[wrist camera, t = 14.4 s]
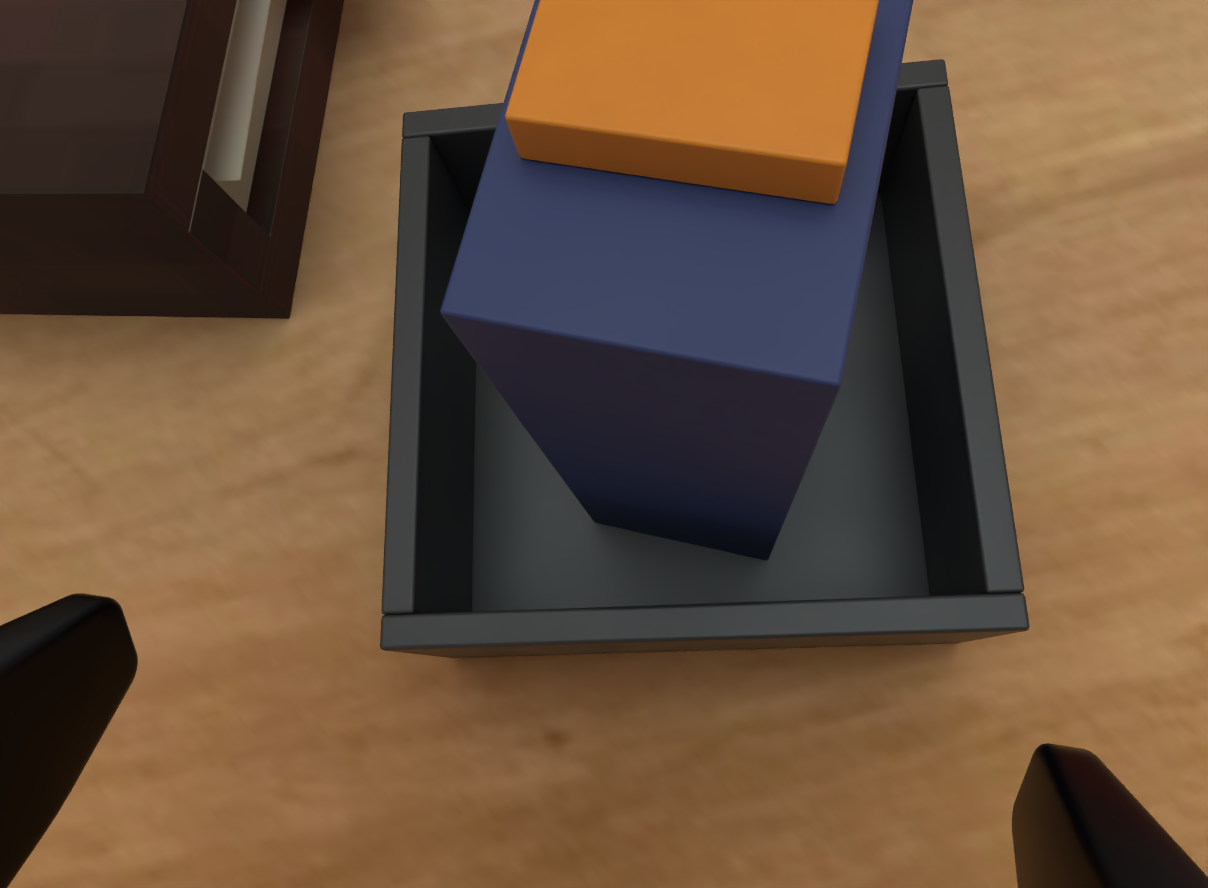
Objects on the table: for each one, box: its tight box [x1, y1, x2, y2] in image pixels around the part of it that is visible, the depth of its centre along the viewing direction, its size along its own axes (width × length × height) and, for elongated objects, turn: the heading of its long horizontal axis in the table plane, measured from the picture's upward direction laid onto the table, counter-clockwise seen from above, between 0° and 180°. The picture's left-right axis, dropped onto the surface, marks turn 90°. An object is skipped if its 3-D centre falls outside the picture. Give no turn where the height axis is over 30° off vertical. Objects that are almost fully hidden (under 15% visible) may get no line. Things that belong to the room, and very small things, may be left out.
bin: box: [380, 59, 1029, 658], centre depth 21 cm, size 12×12×5 cm
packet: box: [440, 0, 913, 560], centre depth 16 cm, size 6×4×14 cm
